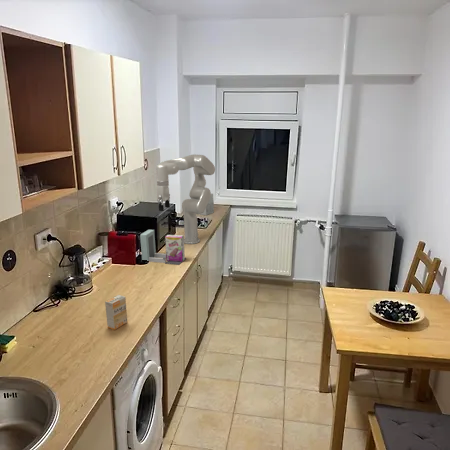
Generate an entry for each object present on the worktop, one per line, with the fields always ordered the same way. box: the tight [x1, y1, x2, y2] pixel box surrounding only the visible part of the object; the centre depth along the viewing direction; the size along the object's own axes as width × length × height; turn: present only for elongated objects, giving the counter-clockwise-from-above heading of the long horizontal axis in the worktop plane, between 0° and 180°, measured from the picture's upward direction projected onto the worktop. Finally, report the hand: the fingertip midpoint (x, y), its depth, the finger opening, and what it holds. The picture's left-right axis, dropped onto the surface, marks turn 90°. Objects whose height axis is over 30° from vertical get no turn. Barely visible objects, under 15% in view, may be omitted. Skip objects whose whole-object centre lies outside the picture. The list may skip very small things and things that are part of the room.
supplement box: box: [104, 294, 128, 331], centre depth 185 cm, size 8×5×13 cm, turn 148°
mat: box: [164, 257, 187, 266], centre depth 264 cm, size 12×10×1 cm
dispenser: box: [139, 229, 167, 264], centre depth 266 cm, size 12×16×18 cm
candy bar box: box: [164, 234, 186, 263], centre depth 262 cm, size 11×5×16 cm, turn 81°
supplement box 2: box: [190, 193, 215, 216], centre depth 382 cm, size 17×13×18 cm
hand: (164, 209), depth 272 cm, fingers open, 9 cm apart
